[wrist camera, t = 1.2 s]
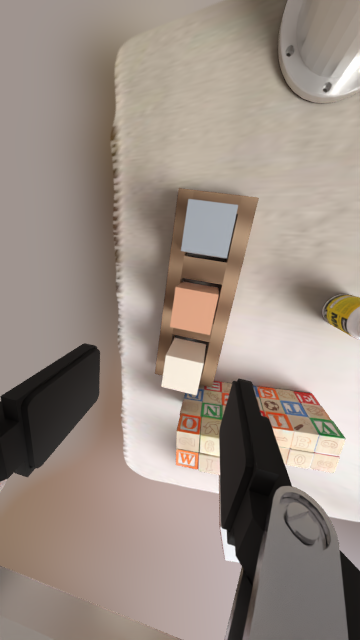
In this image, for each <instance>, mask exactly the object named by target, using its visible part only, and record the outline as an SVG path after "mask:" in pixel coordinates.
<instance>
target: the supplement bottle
mask: <svg viewBox="0 0 360 640" xmlns="http://www.w3.org/2000/svg"><path fill="white" fill-rule="evenodd" d="M322 315H323V318H324V319H325V321H327V322H328V323H329V324H331V325H333V326H334V327H336V328H338V329H340V330H341V331H343V332H345V333H347V334H348V335H350V336H352V337H354V338H356V339H358V340H360V298H359V297H356V296H352V295H348V294H340V295H336V296H334V297H332V298H331V299H329V300H328V301H327V302H326V303H325V305H324V307H323V310H322Z"/></svg>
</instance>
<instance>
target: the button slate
mask: <svg viewBox="0 0 360 640" xmlns="http://www.w3.org/2000/svg"><path fill="white" fill-rule="evenodd" d="M237 209H238V205H234V204H226V203H218V202H210V201H202V200H194V199H188V206H187V212H186V219H185V226H184V233H183V240H182V247H181V251H184V252H187V253H193V254H199V255H206V256H212V257H218V258H227V255H228V250H229V246H230V241H231V236H232V232H233V227H234V223H235V218H236V214H237Z"/></svg>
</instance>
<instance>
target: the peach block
mask: <svg viewBox="0 0 360 640" xmlns="http://www.w3.org/2000/svg"><path fill="white" fill-rule="evenodd" d="M218 296H219V292H218V288H217V287H212V286H206V285H200V284H195V283H189V282H182V283H181V284H179V285H178V286H176V289H175V296H174V302H173V309H172V316H171V323H170V327H173V328H178V329H183V330H187V331H192V332H197V333H202V334H207V335H210V332H211V328H212V323H213V319H214V314H215V309H216V305H217V300H218Z"/></svg>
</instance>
